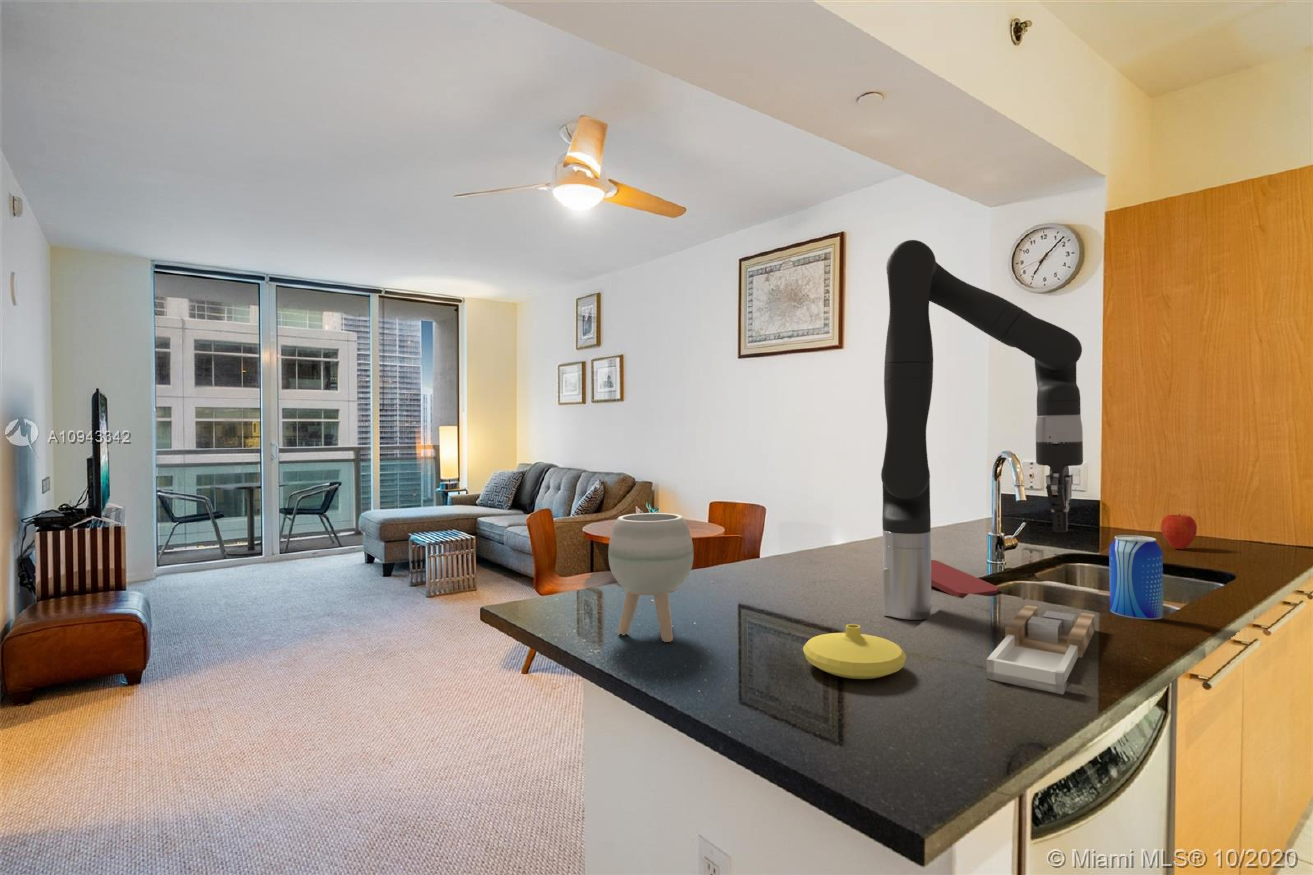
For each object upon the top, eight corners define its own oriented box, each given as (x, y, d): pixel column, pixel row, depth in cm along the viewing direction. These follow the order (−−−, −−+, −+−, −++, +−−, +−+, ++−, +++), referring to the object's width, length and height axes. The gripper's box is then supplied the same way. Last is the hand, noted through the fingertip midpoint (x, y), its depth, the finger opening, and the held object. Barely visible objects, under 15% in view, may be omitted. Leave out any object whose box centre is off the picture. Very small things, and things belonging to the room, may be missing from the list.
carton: (1001, 609, 151) (921, 572, 174) (1003, 589, 150) (923, 554, 173) (961, 615, 146) (884, 576, 169) (963, 594, 146) (886, 558, 169)
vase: (795, 653, 113) (794, 612, 113) (887, 653, 112) (887, 612, 112) (814, 690, 97) (813, 642, 97) (922, 689, 96) (921, 641, 96)
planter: (592, 636, 124) (589, 518, 124) (650, 617, 136) (648, 509, 136) (654, 655, 113) (652, 525, 113) (712, 632, 125) (710, 515, 125)
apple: (1171, 551, 193) (1171, 515, 193) (1154, 546, 202) (1154, 511, 202) (1204, 552, 192) (1203, 515, 192) (1185, 547, 200) (1185, 511, 200)
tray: (1008, 651, 111) (1008, 634, 111) (1078, 664, 105) (1077, 645, 105) (986, 678, 100) (986, 659, 100) (1063, 694, 93) (1063, 673, 93)
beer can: (1148, 628, 122) (1147, 542, 122) (1101, 617, 130) (1100, 536, 130) (1172, 621, 126) (1171, 538, 126) (1124, 611, 134) (1123, 533, 134)
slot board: (1025, 626, 125) (1025, 605, 125) (1094, 636, 118) (1094, 614, 118) (1005, 651, 111) (1005, 627, 111) (1081, 665, 104) (1081, 640, 104)
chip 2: (1047, 626, 121) (1047, 610, 121) (1076, 631, 118) (1075, 614, 118) (1042, 633, 117) (1042, 616, 117) (1072, 637, 114) (1072, 620, 114)
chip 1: (1032, 633, 117) (1032, 616, 117) (1062, 637, 114) (1061, 620, 114) (1027, 639, 114) (1027, 622, 114) (1058, 644, 111) (1057, 626, 111)
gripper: (1042, 439, 130) (1043, 526, 131) (1029, 440, 120) (1030, 535, 120) (1087, 438, 126) (1088, 529, 126) (1077, 440, 115) (1079, 538, 116)
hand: (1060, 531), depth 123 cm, fingers closed
